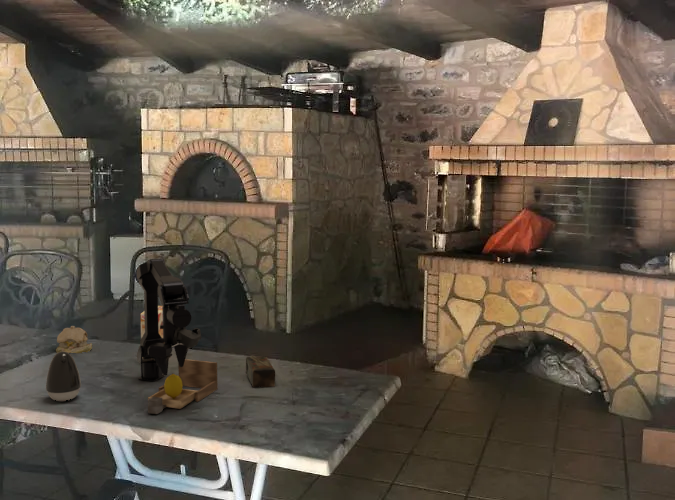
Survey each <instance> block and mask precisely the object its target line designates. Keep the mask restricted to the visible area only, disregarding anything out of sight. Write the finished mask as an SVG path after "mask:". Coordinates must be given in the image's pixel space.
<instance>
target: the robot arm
mask: <svg viewBox="0 0 675 500" xmlns="http://www.w3.org/2000/svg"><path fill="white" fill-rule="evenodd" d="M136 277H137V278H136V279H137V280H138V284H139V285H140V287H141V289H142V290H143V304H144V305H143V312H144V315H145V333H144V335H143V336H142V338H141V337H140V340H139V341H140V342H139V346H138V349H137V351H136V360H137V362H138V363H139V364H140V377H138V381H139V380H140V381H147V382H148V381H149V382H156V381H158V380H160V379H162V378H164V377H165V376H168V373H169V372H168V371H169V360H170V359H171V357H172V356H173V353H172V352H173V349H174V352H175V356H176V359H177V364H179V366H180V367H183V365H184V362H185V359H186V357H187V354H188V351H189V349H193V348H194V347H196V346H198V344H199V342H200V340H202V333H201V329H200V328H198V327H195V328H193V329H187V327H188V326H189V325H190V323H191V322H192V315H191V311H189V310H188V309H186V306H185V305H188V304H190V303H189V299H190V297H189V293H188V290H187V289H188V288H187V287H186V286H185V283H183V281H182V280H181V279H180V278H179V277H176V276H173V275H172V273H171V272H170V270H169V269H168V267H167V265H166V263H165V260H164V258H159V257H158V258H150V259H147V261H145V262H144V263H141V264H139V266H137V269H136ZM159 300H160V301H159ZM159 302H160V304H161V306H163V307H162V311H163V325H160V329H163V338H162V337H161V336H160V334H159V325H158V306H159ZM142 357H143V358H142Z"/></svg>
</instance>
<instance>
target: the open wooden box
mask: <svg viewBox="0 0 675 500" xmlns="http://www.w3.org/2000/svg"><path fill="white" fill-rule="evenodd" d="M177 364H178V363H177ZM177 368H178V369H177V370H178V376H179V377H180V378H181V380H182V384H183V387H188V388H189V387H190V388H198V390H196V391H197V392H195V396H196V399H195V403H198V402H200V401H202V400H204V398H206V397H208V396H209V395H211V394H212V393H214V392H215V391H217V390H218V388H219V386H218V383H219V382H218V362H215V361H206V360H197V359H188V358H187V359H186V358H185V362H184V365H183V367H180V366H179V364H178V367H177ZM157 389H158V391H157V392H159V391H161V390H162V389H164V384H163V385H161V386H159V387H158V388H157Z"/></svg>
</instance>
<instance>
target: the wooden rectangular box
mask: <svg viewBox="0 0 675 500" xmlns="http://www.w3.org/2000/svg"><path fill="white" fill-rule="evenodd" d="M245 372H246V374H247V375H246V376H247V377H248V380H249V382H250V384H251V386H252V388H269V387H270V388H273V387H275V386H276V370H275V368H274V366H273V365H272V363H271V362H270V361H269V359H268V357H267V356H266V355H260V356H255V355H250V356H247V357H245Z"/></svg>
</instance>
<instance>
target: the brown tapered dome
mask: <svg viewBox="0 0 675 500" xmlns="http://www.w3.org/2000/svg"><path fill="white" fill-rule="evenodd" d="M80 375H81V374H80V372H79V369H78V366H77V363H76V361H75V359H74V358H73V356H72V354H69V353H68V352H65V351H61V352H58V353H57V352H56V353H55V355H54V356H53V357H52V359H51V361H50V364H49V367H48V371H47V374H46V383H45V391H46V392H47V394H48V396H49V398H50V399H52V400H53V401H55V400H56V402H66V400H68V401H71V400H73V399H74V398H76V397H77V396H78V394H79V392H80V389H81V387H82V382H81V376H80ZM70 399H71V400H70Z"/></svg>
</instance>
